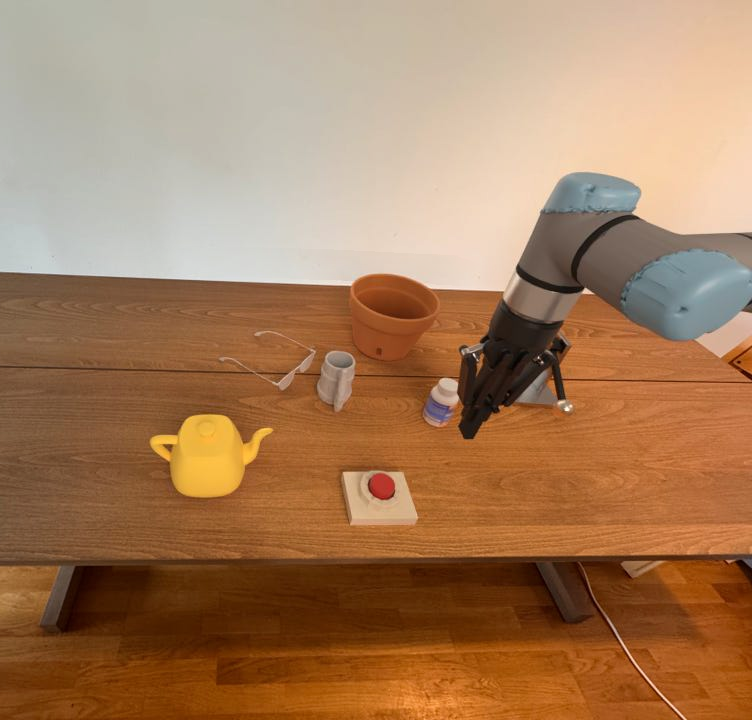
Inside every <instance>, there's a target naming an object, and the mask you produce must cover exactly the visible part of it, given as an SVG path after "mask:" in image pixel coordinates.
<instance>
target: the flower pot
mask: <svg viewBox="0 0 752 720" xmlns="http://www.w3.org/2000/svg"><path fill="white" fill-rule="evenodd" d="M349 289H350V290H349V298H348V308H349V311H350V312H351V327H352V341H353V345H354V346H355V347H356V349H358V351H360V352H361V353H362V354H364V355H365V356H367V357H369V358H372V359H373V360H374V359H375V360H379V361H385V362H390V361H391V362H392V361H398V360H401V359H403V358H405V357H406V356H407V355H408V354H409V353H410V352H411V350H412V349H413V347H414V346H415V345H416V344H417V343H418V341H419V339H420V338H421V337H422V335H423V334H424V333H425V332H426V331H428V330H429V329H431V327H432V326H433V325H434V323H435V321H436V319H437V317H438V316H439V314H440V311H441V309H442V303H441V300H440V298H439V296H438V295H437V294H436V292H435V291H434V290H432V289H431V288H430V287H428V286H427V285H425V284H423V283H422V282H419V281H417V280H415V279H412V278H409V277H406V276H403V275H400V274H393V273H371V274H366V275H363V276H361V277H358V278H357V279H355V280H354V281H353V282H352V284H351V286H350V288H349Z"/></svg>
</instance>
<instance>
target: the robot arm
mask: <svg viewBox="0 0 752 720" xmlns="http://www.w3.org/2000/svg"><path fill="white" fill-rule="evenodd" d="M641 196H642V190H641V188H640V186H639V185H636V184H635V183H634V182H632V181H629V180H627V179H624V178H622V177H618V176H614V175H609V174H605V173H599V172H592V171H591V172H590V171H576V172H575V171H574V172H571V173H568V174H565V175H563V176H562V177H561V178H560V179H558V181H557V183H556V184H555V186H554V188H553V190H552V191H551V193H550V195H549V197H548V199H547V200H546V202H545V204H544V206H543V207H542V209H540V211H539V215H538V218H537V220H536V223H535V225H534V227H533V229H532V232H531V235H530V236H529V238H528V240H527V243H526V245H525V247H524V250H523V251H522V254H521V256H520V258H519V260H518V262H517V264H516V266H515V268H514V270H513V272H512V275H511V276H510V279H509V280H508V283H507V285H506V287H505V289H504V292H503V294H502V298H500V300H499V302H498V303H497V305H496V308H495V310H494V312H493V314H492V316H491V318H490V321H489V326H488V330H487V332H486V333H485V334H484V335H483V336H482V337H481V338H480V339H479V342H478V343H476V344H474V345H472V346H470V347H469V345H467V344H462V345H460V346H459V347H458V352H459V355H460V357H461V360H460V369H459V375H458V381H457V383H458V388H457V395H458V397H459V401H460V403H461V404H462V406H463V407H462V410H461V411H460V416H461V419H460V421H459V422H458V425H457V427H458V430H459V431H460V434H461V436H462V438H463V440H474V439H475V437H476V436H477V433H478V432H479V430H480V428H481V427H482V425H483V423H486V422H487V421H488V420H489V419H490V417H491V416H492V414H495V415H497V414H499V413H501V409H500V408H499V407H501V406H503V407H504V408H509V407H511V406H513V403H514V402H515V401H516V400H517V399H518V398H519V396H520V395H521V394H522V393H523V392H524V391H525V390H526V389H527V388H528V387H529V386H530V385H531V384H532V383H533V382H534V381H535V380H536V379H537V377H538V376H539V375H540V374H541V373H542V372H543V371H545V370H546V369H548V368H549V367H551V366H552V365H554V364H555V363H556V362H557V359H556V358H555V357H554V355H553V354H552V353H551V352H550V351H549V349H548V348H547V346H549V345H550V344H551V343H552V342H553V340H554V338H555V337H556V335H557V333H560V330H561V329H562V327H563V325H564V322H565V320H566V319H568V317H569V316H570V314H571V312H572V310H573V309H574V307H575V306H576V304H577V302H578V301H579V299H580V297H582V296H581V295H582V294H583V292H584V290H585V289H586V290H588V291H589V292H591V293H592V294H594V295H595V296H596V297H598V298H599V299H600V300H602V301H604V302H605V303H606V304H608V305H609V306H610V307H612V308H613V309H615V310H616V311H618V312H619V313H621V314H622V315H623V316H624V317H625V318H627V319H628V320H629V321H630V322H631V323H633V324H636V325H637V326H638V327H641V328H644V329H646V330H648V331H650V332H652V333H654V334H655V335H657V336H659V337H660V338H662V339H664V340H667V341H670V342H677V343H679V342H680V343H681V342H682V343H683V342H688V341H689V342H690V341H695V340H698V339H699V338H701V337H703V335H705V334H712V333H714V332H716V331H717V330H719V329H720V328H722V327H723V326H725V325H726V324H728V323H730V322H731V321H732V320H733V319H735V317H737V316H738V315H739V314H740V313H741V312H743V313H747V314H748V313H750V314H752V231H749V232H748V231H747V232H745V231H744V232H718V233H717V232H716V233H689V234H681V233H677V232H673V231H671V230H668V229H665V228H663V227H661V226H658V225H657V224H653V223H651V222H648V221H647V220H646V219H643V218H641V217H639V216H638V215H636V214H634V213H633V212H635V211H636V210H637V205H638V203H639V201H640V198H641ZM482 354H483V357H482V361H481V360H480V359H481V355H482ZM480 362H482V364H481V367H480V369H479V371H478V364H479V363H480ZM507 393H508V394H509V395H507Z"/></svg>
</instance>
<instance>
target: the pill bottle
mask: <svg viewBox="0 0 752 720" xmlns="http://www.w3.org/2000/svg"><path fill="white" fill-rule="evenodd" d="M457 388H458V381H457V380H455V379H453V378H450V377H443V378H440V379H439V381H438V383H437V385H435V386H433V387H432V388H431V391H430V394H429V396H428V399H427V401H426V404H425V406H424V409H423V410H422V418H423V419H424V421H425V422H426V423H427V424H429V425H430V426H433V427H436V428H442V427H445V426H447V425H448V423H449V422H450V421H451V418H452V416H453V413H454V412H455V408H456V407H457V405H458V403H459V401H460V398H459V397H458V395H457Z"/></svg>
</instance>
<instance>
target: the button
mask: <svg viewBox="0 0 752 720" xmlns="http://www.w3.org/2000/svg"><path fill="white" fill-rule="evenodd" d="M394 489H395V483H394V480H393V479H392V478H391V477H390V476H388V475H387V474H384V473H377V474H375V475H373V476H372V478H371V481H370V484H369V490H370V492H371V493H372V495H373V496H375V497H376V498H378V499H388V498H390V497H391V496H392V494H393V492H394Z"/></svg>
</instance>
